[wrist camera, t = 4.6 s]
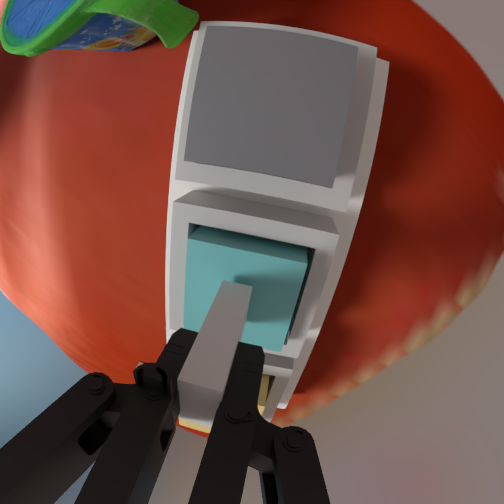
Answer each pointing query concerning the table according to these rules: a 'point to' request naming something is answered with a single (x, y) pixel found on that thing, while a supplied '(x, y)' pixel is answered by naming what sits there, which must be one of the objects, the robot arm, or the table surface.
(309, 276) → the board
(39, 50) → the snack cup
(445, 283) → the table surface
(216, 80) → the charcoal button
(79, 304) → the table surface
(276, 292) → the teal button
